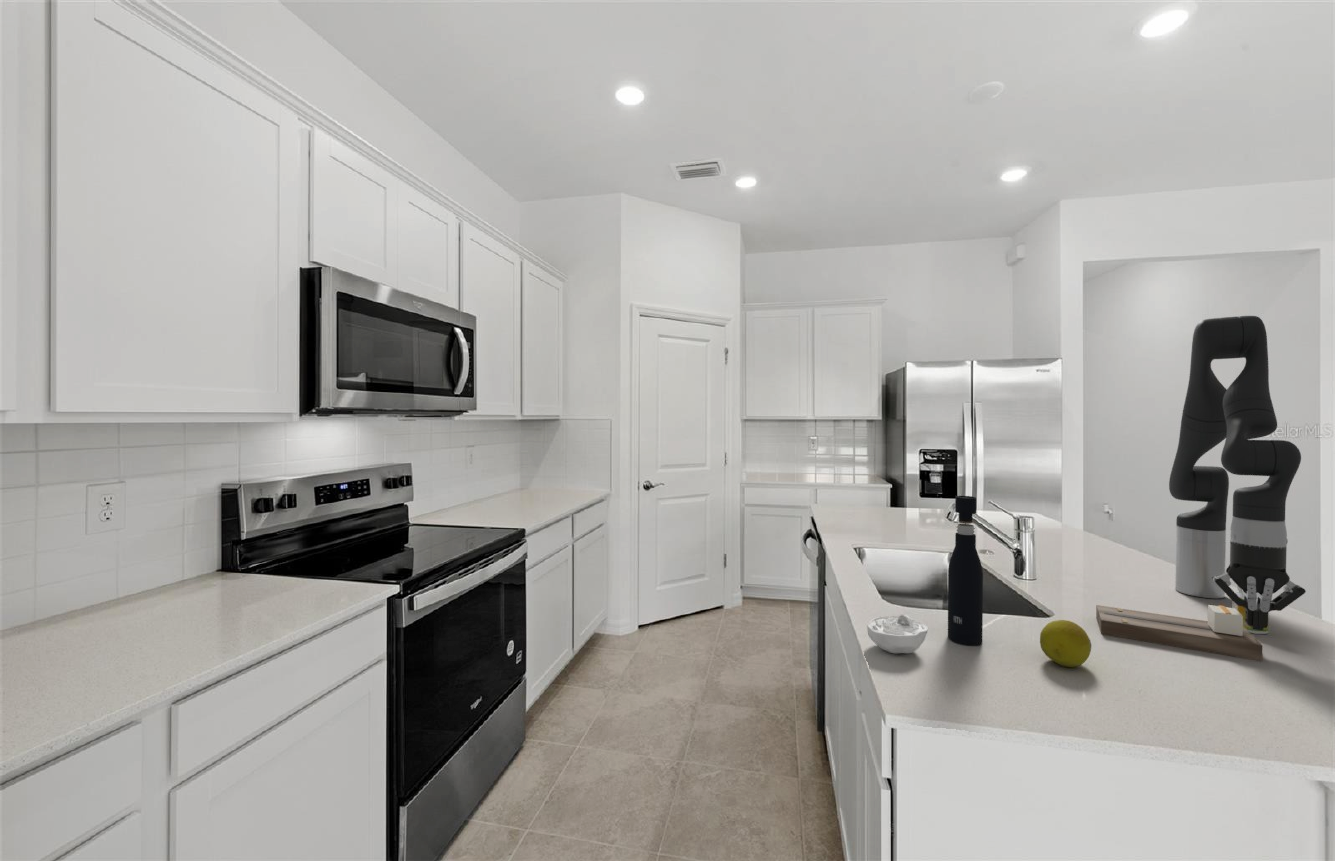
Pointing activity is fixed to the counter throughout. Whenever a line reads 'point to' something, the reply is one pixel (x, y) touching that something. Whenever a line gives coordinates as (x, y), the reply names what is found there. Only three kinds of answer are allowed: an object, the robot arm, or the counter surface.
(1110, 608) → the brown flat piece
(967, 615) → the black water bottle
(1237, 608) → the supplement bottle
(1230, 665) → the counter surface
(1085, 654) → the lemon
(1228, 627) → the block
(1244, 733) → the counter surface
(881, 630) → the cell model
